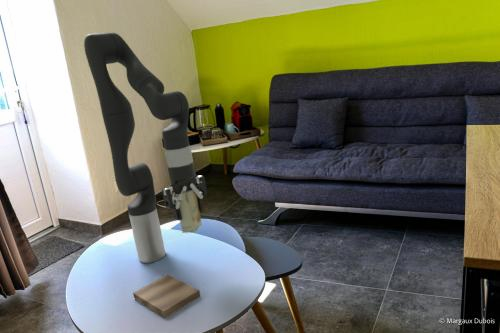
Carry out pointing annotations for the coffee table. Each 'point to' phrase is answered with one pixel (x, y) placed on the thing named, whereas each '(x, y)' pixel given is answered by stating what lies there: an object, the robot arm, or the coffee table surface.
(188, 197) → the skincare box
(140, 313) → the coffee table surface
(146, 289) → the walnut board
